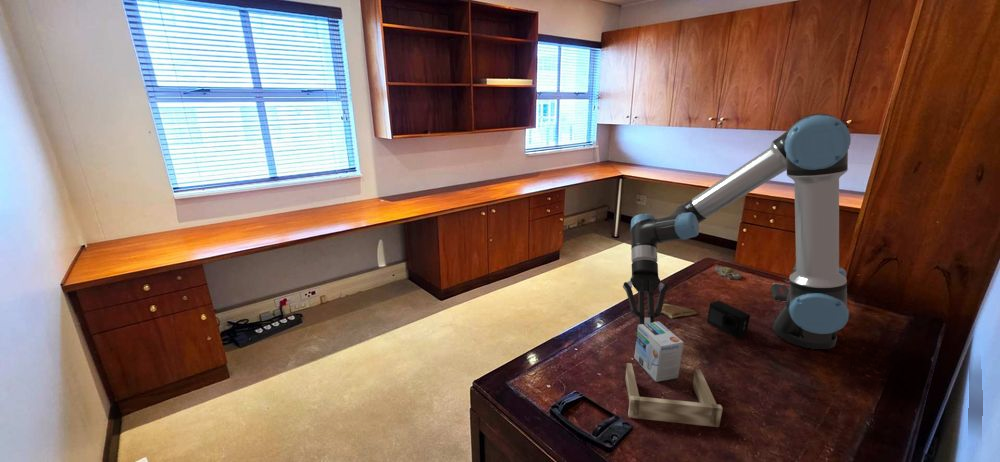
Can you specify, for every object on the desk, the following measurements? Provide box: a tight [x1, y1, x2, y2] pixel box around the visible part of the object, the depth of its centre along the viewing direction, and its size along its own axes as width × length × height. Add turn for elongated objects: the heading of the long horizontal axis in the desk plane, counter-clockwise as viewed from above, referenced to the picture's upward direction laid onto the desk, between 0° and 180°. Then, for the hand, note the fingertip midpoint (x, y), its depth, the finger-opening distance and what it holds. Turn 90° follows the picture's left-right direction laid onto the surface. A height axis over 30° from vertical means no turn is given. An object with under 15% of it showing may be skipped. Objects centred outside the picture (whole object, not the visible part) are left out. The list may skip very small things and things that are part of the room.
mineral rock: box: [714, 265, 743, 280], centre depth 162 cm, size 11×4×8 cm
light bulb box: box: [633, 321, 684, 382], centre depth 106 cm, size 11×7×11 cm, turn 14°
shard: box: [661, 303, 699, 319], centre depth 133 cm, size 11×8×2 cm
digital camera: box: [706, 299, 751, 339], centre depth 124 cm, size 10×5×7 cm, turn 26°
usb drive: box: [770, 282, 789, 302], centre depth 145 cm, size 5×12×3 cm, turn 154°
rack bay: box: [624, 362, 723, 428], centre depth 95 cm, size 19×13×5 cm
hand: (647, 341), depth 113 cm, fingers closed
